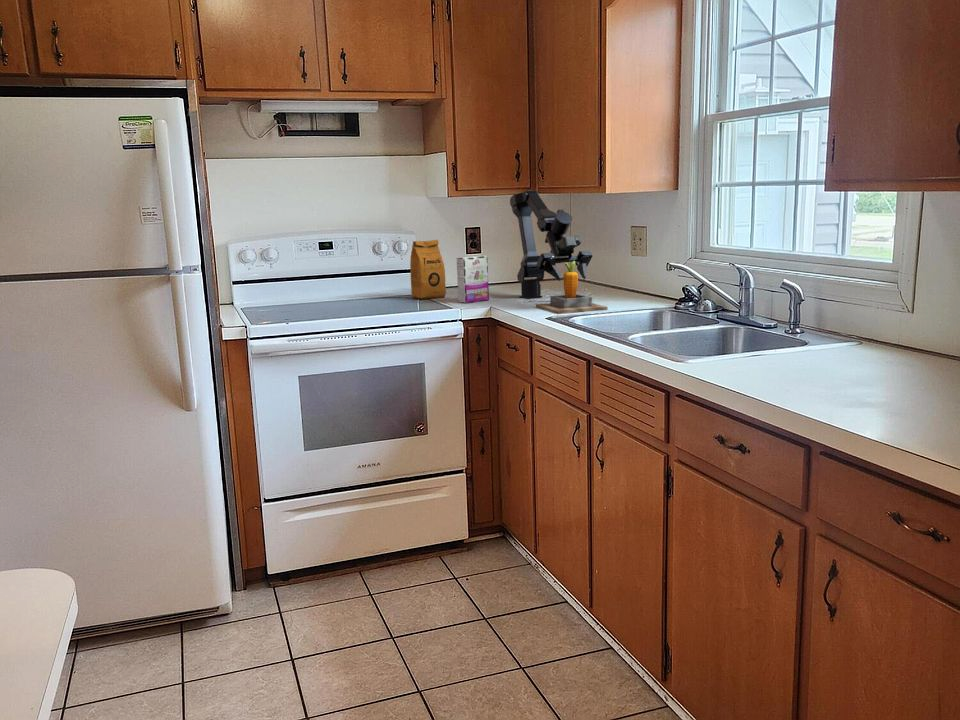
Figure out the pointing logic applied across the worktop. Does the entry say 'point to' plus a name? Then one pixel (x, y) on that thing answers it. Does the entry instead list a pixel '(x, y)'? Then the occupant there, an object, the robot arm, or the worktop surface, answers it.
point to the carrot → (570, 282)
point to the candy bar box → (472, 279)
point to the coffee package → (427, 270)
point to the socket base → (570, 304)
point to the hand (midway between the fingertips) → (572, 279)
